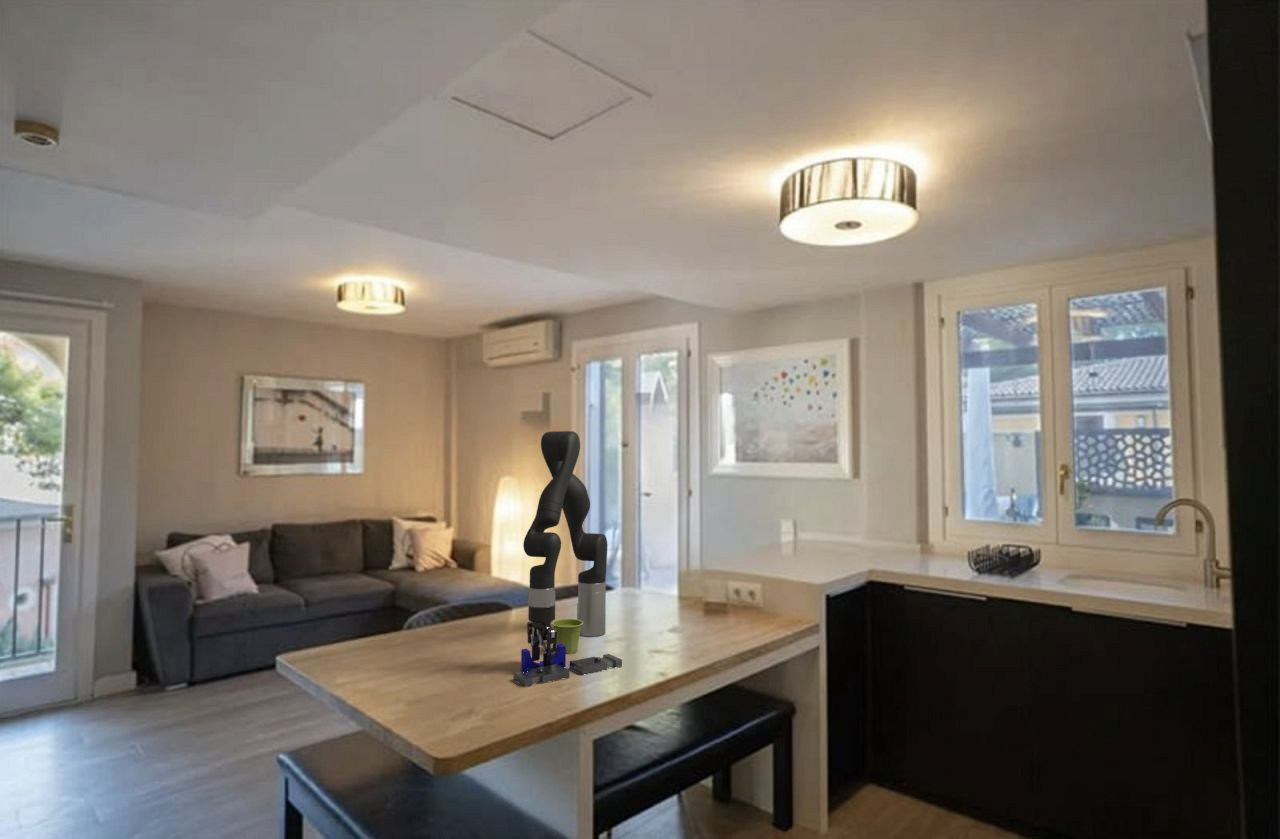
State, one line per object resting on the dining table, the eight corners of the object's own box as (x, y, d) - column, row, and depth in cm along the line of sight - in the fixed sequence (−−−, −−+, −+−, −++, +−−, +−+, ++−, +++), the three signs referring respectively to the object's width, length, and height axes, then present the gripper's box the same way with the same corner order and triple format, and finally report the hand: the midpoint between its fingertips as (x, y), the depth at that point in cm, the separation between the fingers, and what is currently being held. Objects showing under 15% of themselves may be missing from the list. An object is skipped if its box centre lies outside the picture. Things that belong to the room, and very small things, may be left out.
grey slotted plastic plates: (513, 679, 185) (513, 670, 185) (608, 660, 202) (608, 651, 202) (525, 687, 179) (525, 676, 179) (622, 666, 196) (622, 657, 196)
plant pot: (589, 651, 212) (589, 622, 212) (565, 657, 205) (566, 627, 206) (569, 645, 218) (569, 617, 219) (545, 651, 212) (545, 622, 212)
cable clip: (559, 663, 199) (559, 642, 200) (565, 668, 195) (565, 646, 196) (519, 670, 194) (519, 648, 194) (524, 674, 190) (524, 652, 190)
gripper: (518, 600, 200) (518, 659, 199) (541, 609, 188) (541, 672, 187) (542, 597, 204) (541, 655, 203) (566, 606, 193) (565, 667, 192)
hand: (541, 663), depth 195 cm, fingers open, 6 cm apart
